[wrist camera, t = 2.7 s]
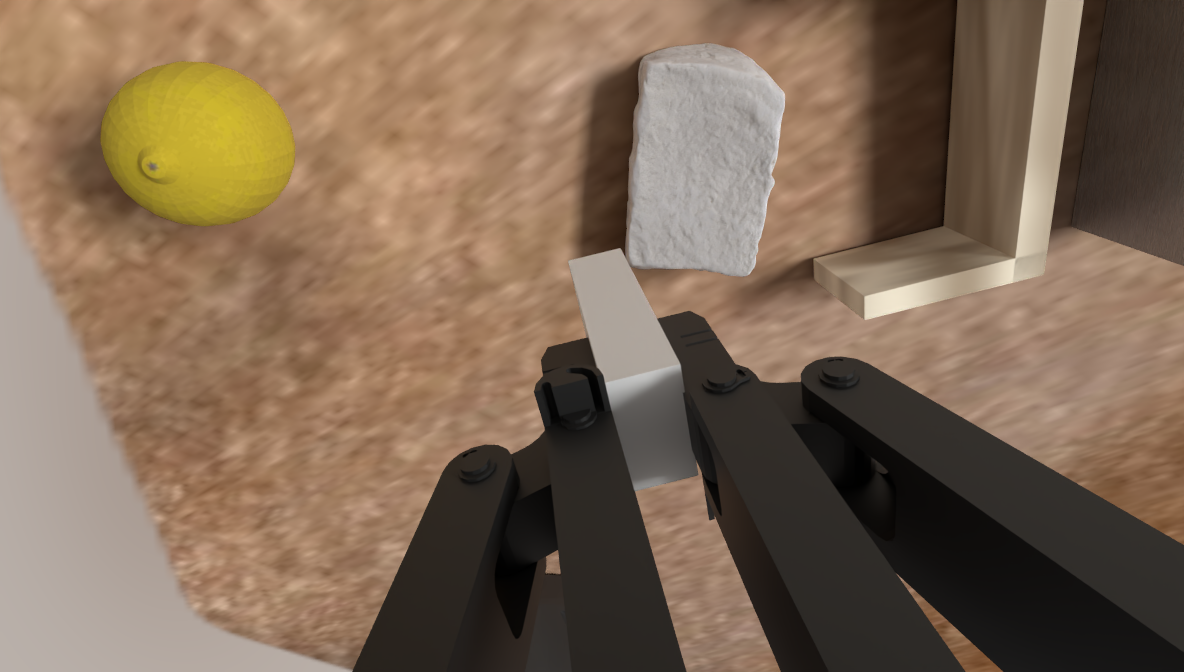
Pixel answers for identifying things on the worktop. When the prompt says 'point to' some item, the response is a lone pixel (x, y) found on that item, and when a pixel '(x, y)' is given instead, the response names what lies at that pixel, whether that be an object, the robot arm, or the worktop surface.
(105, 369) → the worktop surface
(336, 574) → the worktop surface
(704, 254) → the grey stone block
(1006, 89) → the cradle
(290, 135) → the lemon
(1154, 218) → the wall
